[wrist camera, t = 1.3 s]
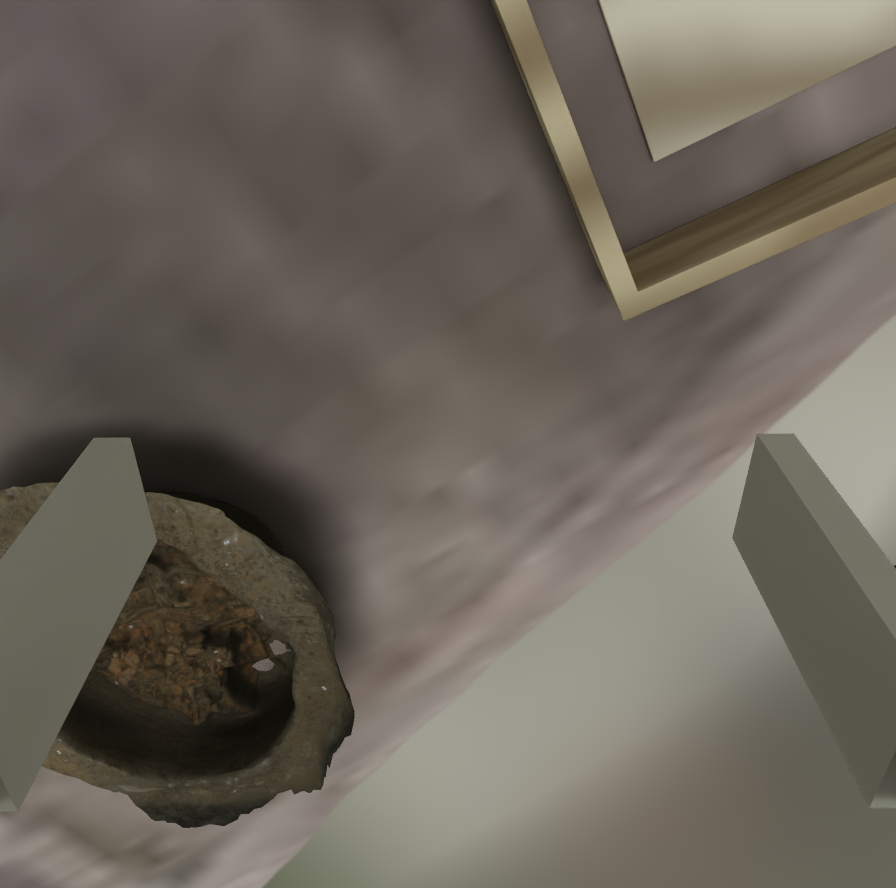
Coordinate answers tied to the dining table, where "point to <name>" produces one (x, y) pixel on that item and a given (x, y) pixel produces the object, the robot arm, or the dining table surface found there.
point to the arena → (715, 126)
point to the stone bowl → (204, 670)
